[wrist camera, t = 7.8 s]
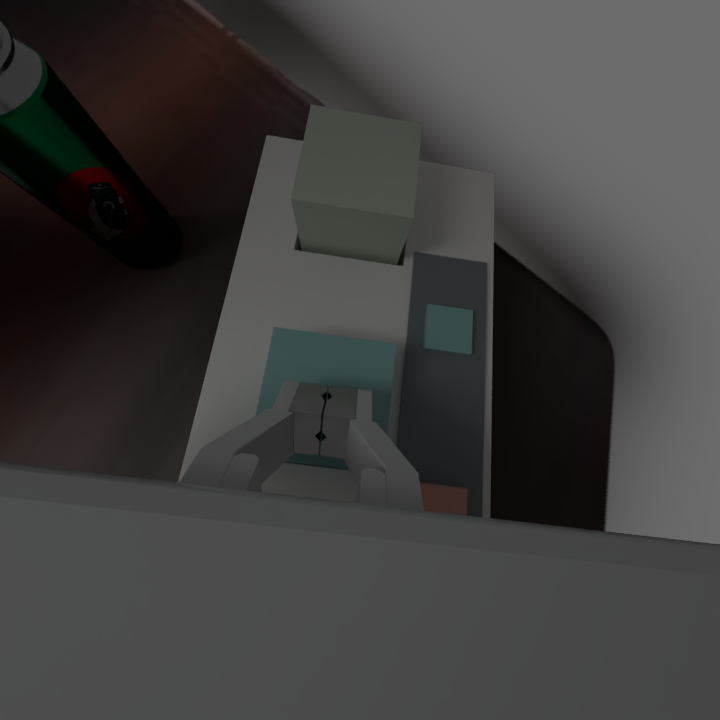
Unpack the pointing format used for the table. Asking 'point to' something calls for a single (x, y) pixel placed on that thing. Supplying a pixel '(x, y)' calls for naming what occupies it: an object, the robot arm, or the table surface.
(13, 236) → the table surface
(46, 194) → the soda can
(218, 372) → the keypad
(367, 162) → the sage green key
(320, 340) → the teal key
